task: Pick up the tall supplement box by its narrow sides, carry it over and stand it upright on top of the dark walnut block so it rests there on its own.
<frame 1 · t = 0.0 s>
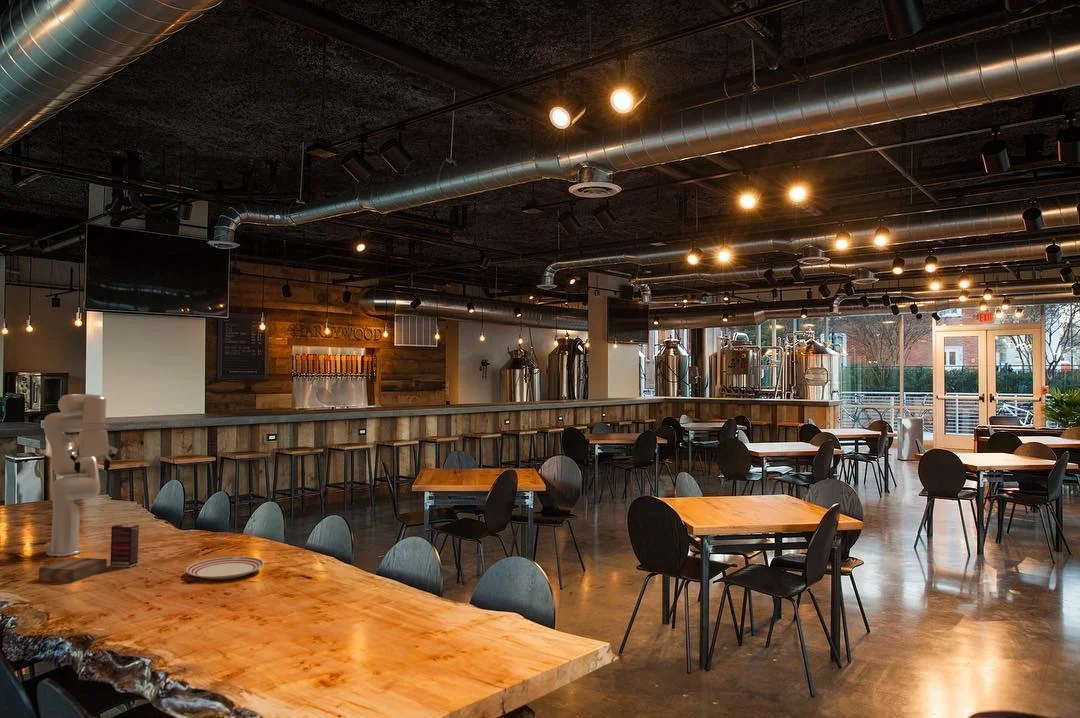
hand: (92, 471, 278), 37 cm above the table, tool pointing down, fingers open, 9 cm apart
walnut block: (73, 576, 265), on the table
dinner plate: (225, 574, 272), on the table
supplement box: (123, 566, 280), on the table
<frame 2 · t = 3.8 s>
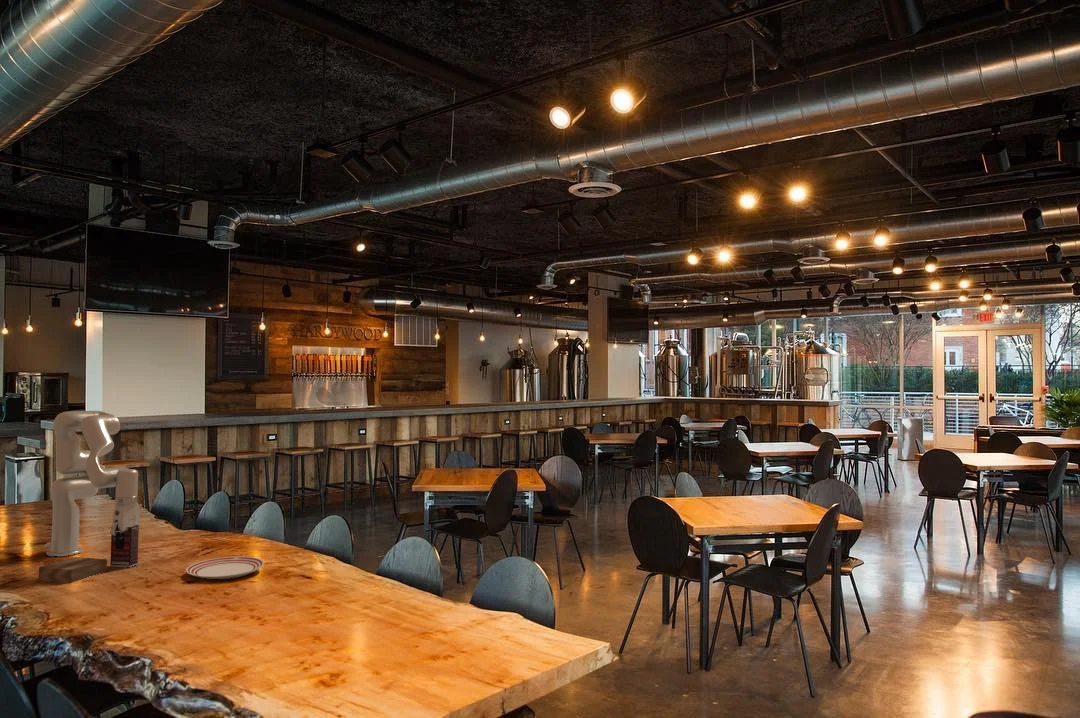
hand: (124, 546, 280), 7 cm above the table, tool pointing down, fingers closed on supplement box, 4 cm apart
supplement box: (123, 566, 280), on the table, touching gripper
everything else where it was.
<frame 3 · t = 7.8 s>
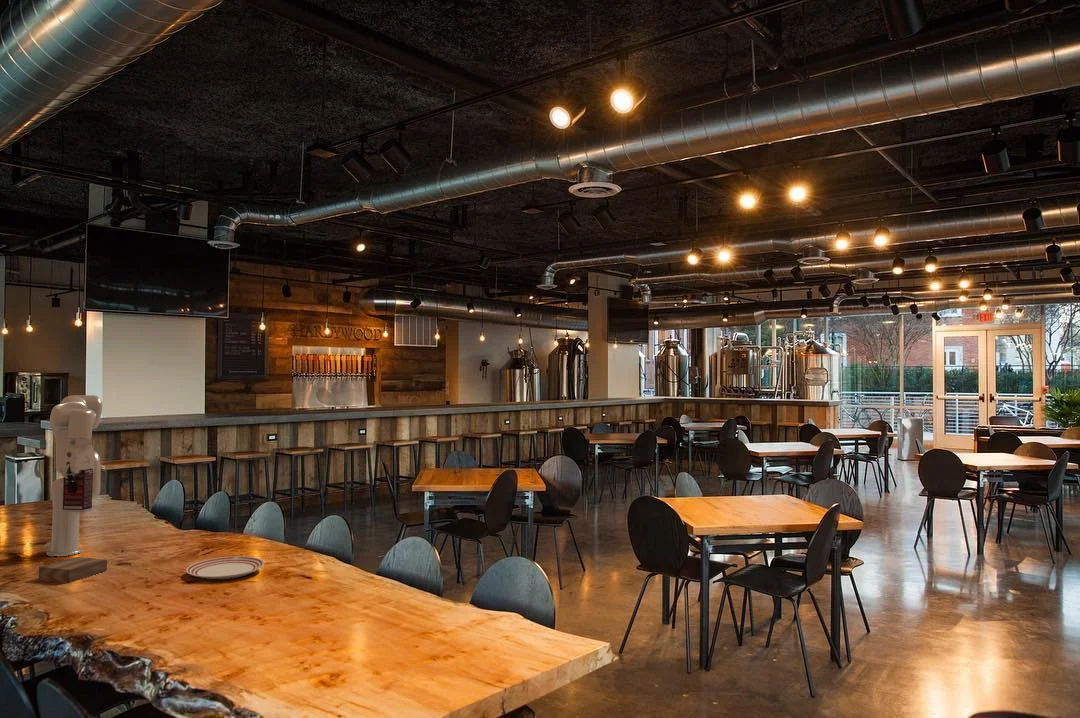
hand: (77, 491, 267), 31 cm above the table, tool pointing down, fingers closed on supplement box, 4 cm apart
supplement box: (77, 511, 267), point 24 cm above the table, touching gripper
everything else where it was.
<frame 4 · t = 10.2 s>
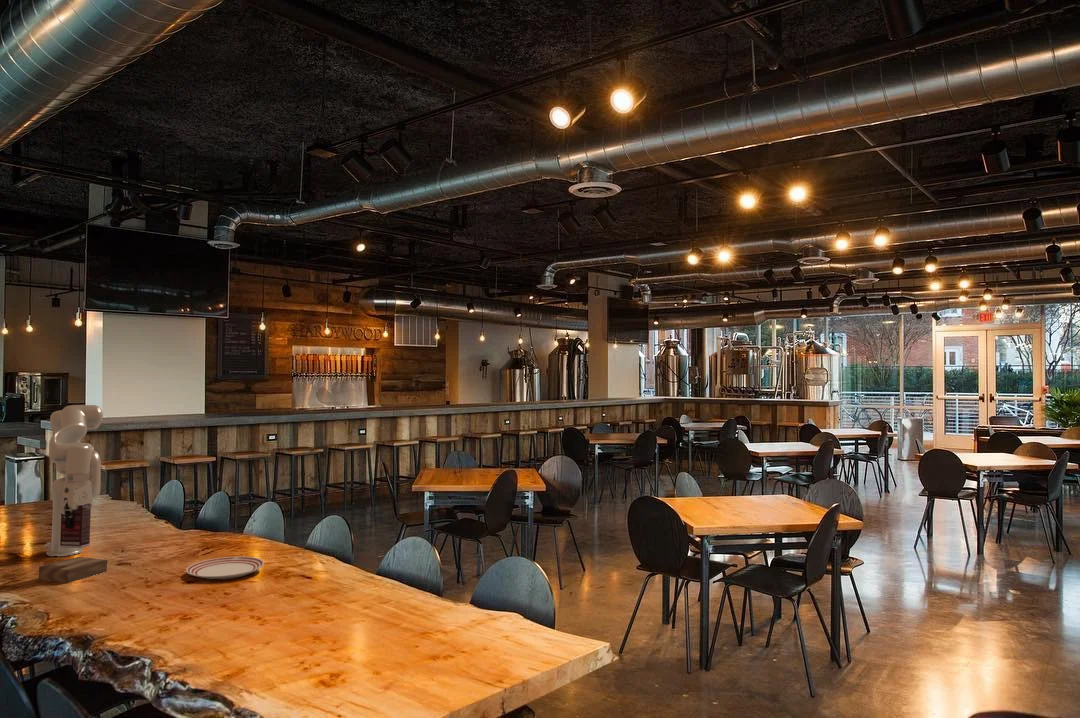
hand: (75, 526, 266), 18 cm above the table, tool pointing down, fingers closed on supplement box, 4 cm apart
supplement box: (74, 547, 266), point 10 cm above the table, touching gripper
everything else where it was.
when the fingers open (14 cm above the table, at t = 12.0 s): supplement box drops 2 cm, resting on walnut block.
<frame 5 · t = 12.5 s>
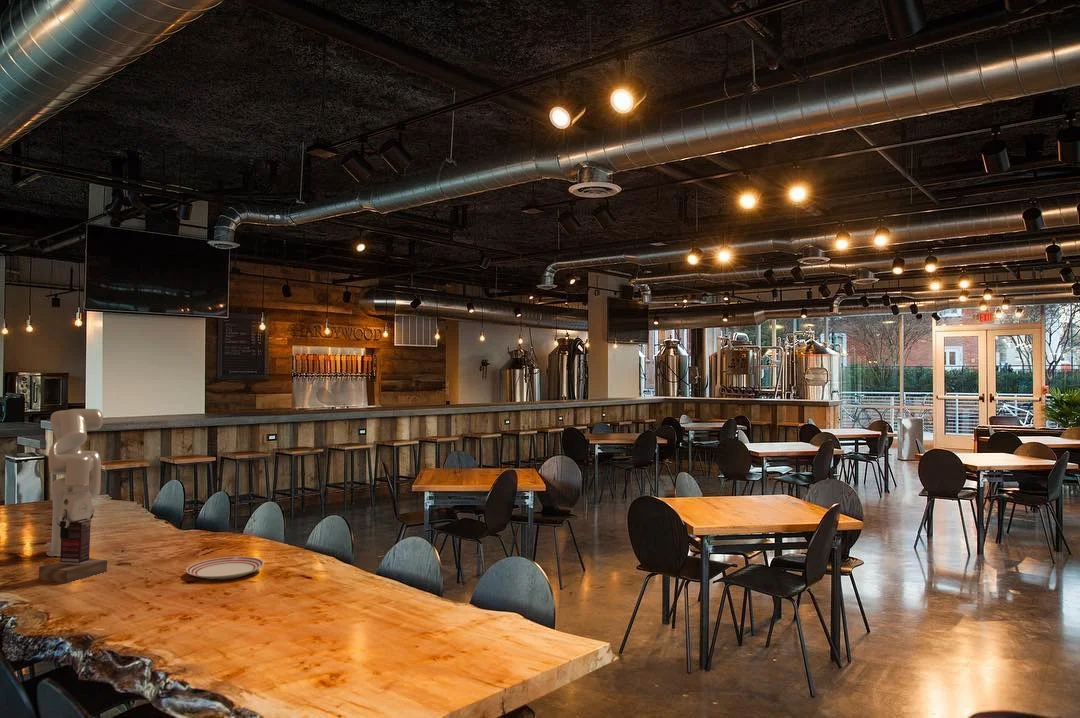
hand: (75, 535, 266), 15 cm above the table, tool pointing down, fingers open, 9 cm apart
walnut block: (73, 577, 265), on the table, touching supplement box
supplement box: (74, 563, 266), point 4 cm above the table, touching walnut block
everything else where it was.
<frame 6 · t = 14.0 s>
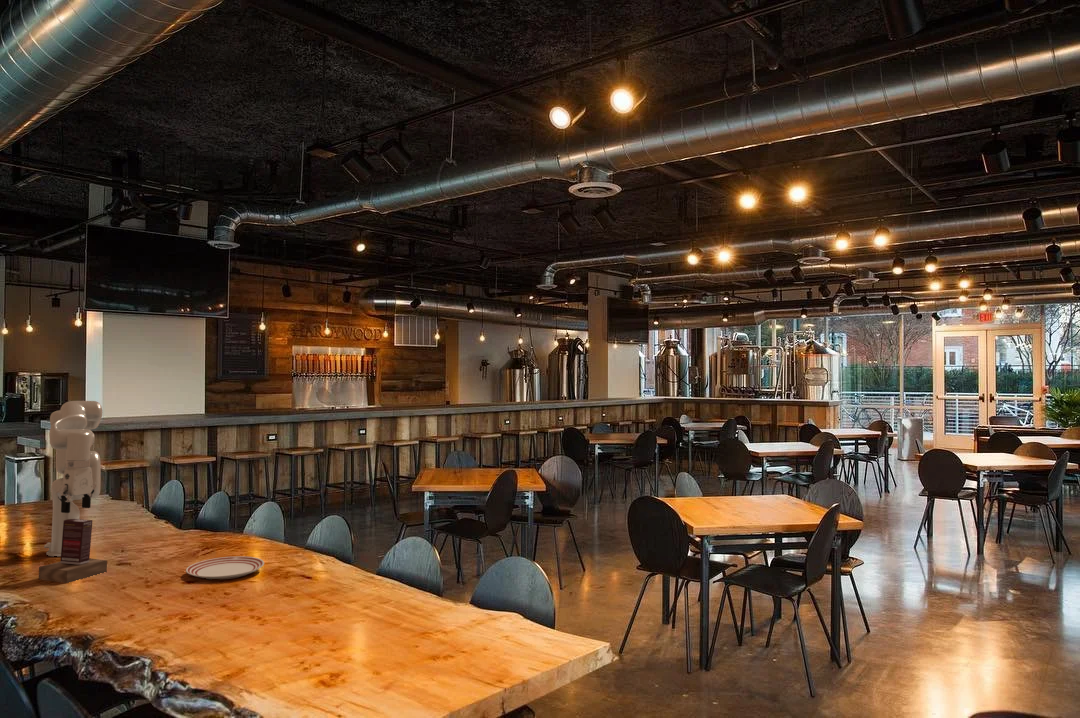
hand: (75, 510, 267), 24 cm above the table, tool pointing down, fingers open, 9 cm apart
walnut block: (73, 577, 265), on the table
supplement box: (74, 563, 266), point 4 cm above the table
everything else where it was.
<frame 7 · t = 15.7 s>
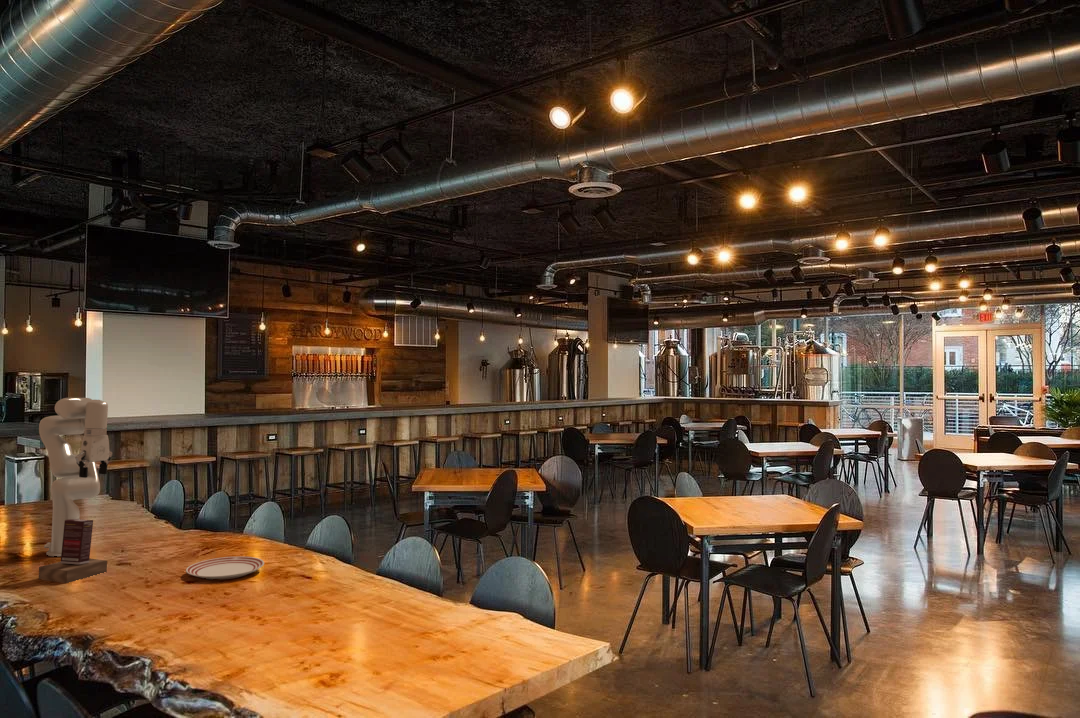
hand: (93, 475, 282), 35 cm above the table, tool pointing down, fingers open, 9 cm apart
walnut block: (73, 577, 265), on the table, touching supplement box
supplement box: (74, 563, 265), point 4 cm above the table, touching walnut block
everything else where it was.
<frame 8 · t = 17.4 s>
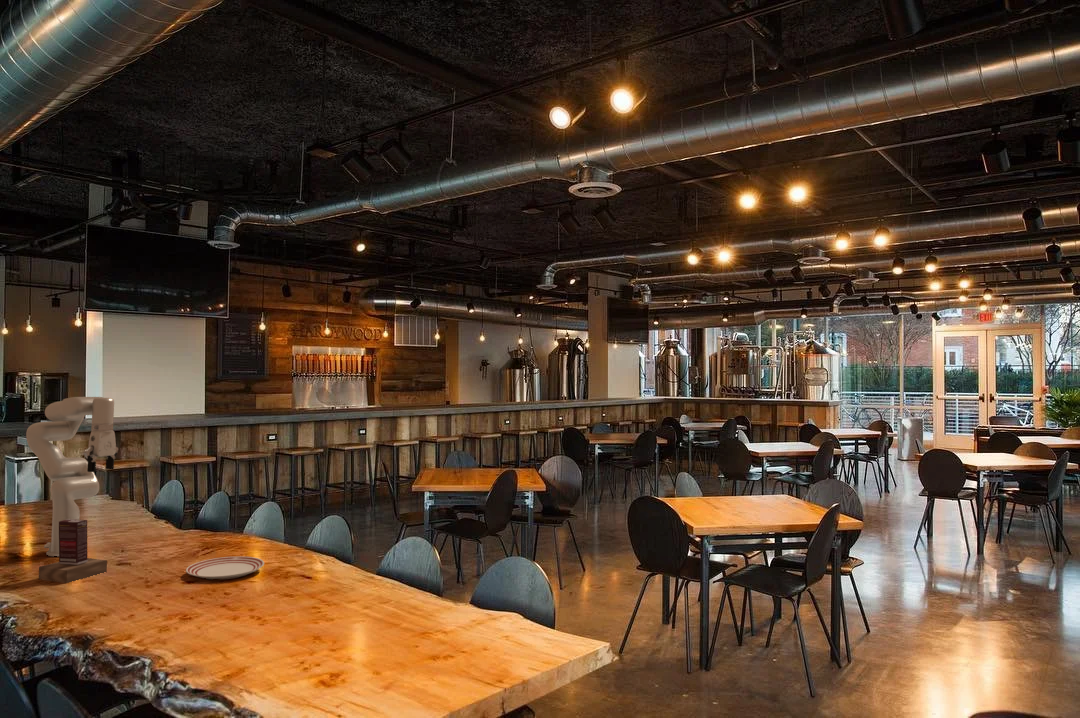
hand: (100, 470, 289), 36 cm above the table, tool pointing down, fingers open, 9 cm apart
walnut block: (73, 577, 265), on the table
supplement box: (73, 563, 265), point 4 cm above the table
everything else where it was.
at the end: supplement box inside the target area on the walnut block (0.2 cm from its centre), point 5.1 cm above the walnut block's base; supplement box tilted 5°; the gripper is holding nothing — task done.
